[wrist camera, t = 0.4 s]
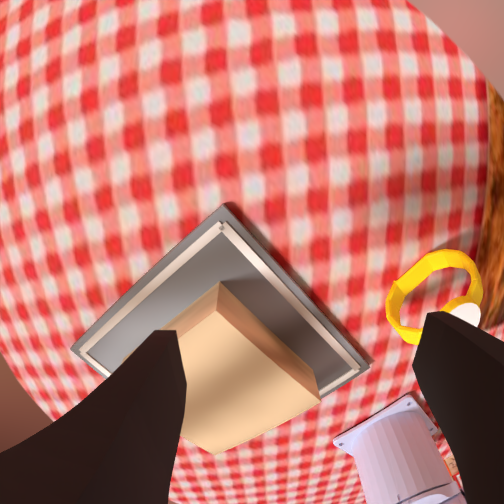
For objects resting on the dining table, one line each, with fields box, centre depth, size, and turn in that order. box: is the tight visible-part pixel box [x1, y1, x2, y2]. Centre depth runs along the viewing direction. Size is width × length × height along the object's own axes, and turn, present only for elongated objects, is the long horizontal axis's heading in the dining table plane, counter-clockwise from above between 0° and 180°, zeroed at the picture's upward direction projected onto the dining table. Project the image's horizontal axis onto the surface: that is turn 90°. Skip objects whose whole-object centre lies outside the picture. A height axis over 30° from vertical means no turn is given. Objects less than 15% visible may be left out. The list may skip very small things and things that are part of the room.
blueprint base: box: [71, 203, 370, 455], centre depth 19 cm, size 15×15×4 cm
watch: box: [385, 249, 483, 345], centre depth 16 cm, size 6×3×6 cm, turn 133°
